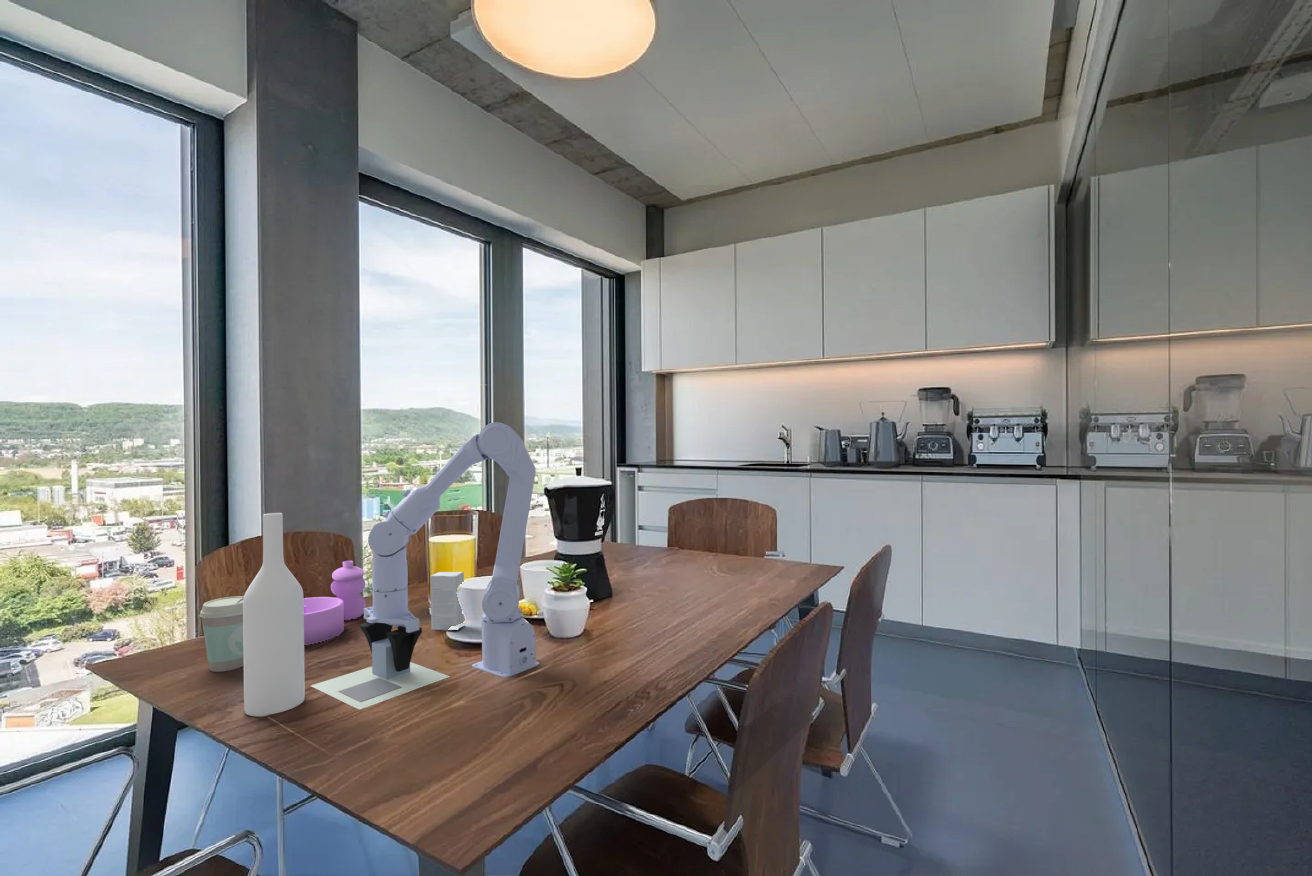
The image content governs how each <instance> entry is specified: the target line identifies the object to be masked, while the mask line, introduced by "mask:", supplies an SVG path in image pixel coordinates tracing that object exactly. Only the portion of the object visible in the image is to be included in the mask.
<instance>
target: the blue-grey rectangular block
mask: <svg viewBox="0 0 1312 876" xmlns="http://www.w3.org/2000/svg"><path fill="white" fill-rule="evenodd" d="M371 666H372V674H373V675H376V676H378V677H381V678H383V679H386V680H387V679H390V678H393V677H396V676H399V675H402V674H405V673H408V672H410V665H409V669H406V670H403V671H400V672H397V671H396V670H395V666H394V657H393V651H392V647H391V644H390V641H389V639H388V638H387V639H383V640H380V641H376V642H373V643H372V654H371Z"/></svg>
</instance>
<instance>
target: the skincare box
mask: <svg viewBox="0 0 1312 876" xmlns="http://www.w3.org/2000/svg"><path fill="white" fill-rule="evenodd" d="M464 574H465V573H464V571H458V572H457V571H439V572H438V571H437V572H436V573H434V574H432V575H430V578H429V579H430V581H429V582H430V613H431V614H430V616H431V617H430V621H431V623H430V625H431V626H430V627H431V630H432V631H435V630H436V631H444V632H448V631H447V630H448V629H449V628H450V627H451V626H456V625H458V624H461V623H463V622H464V621H465V620H466V619H464V616H463V614H462V609H461V606H460V604H459V601H458V597H457V594H456V592H457V588H458V586H459V585H460V584H462V582H464V583H465V580H464V579H465V575H464ZM465 622H466V621H465Z"/></svg>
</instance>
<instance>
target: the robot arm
mask: <svg viewBox="0 0 1312 876" xmlns="http://www.w3.org/2000/svg"><path fill="white" fill-rule="evenodd" d="M488 458H489V459H490V460H492V461H494V462H495V463H497V464H498V465H499V467H500V468H501V469H502V470H503V471H504V472H505V474H506V475H507V477H508V478H509V479H508V485H507V490H506V491H507V492H506V497H505V504H504V508H503V509H504V510H503V513H502V514H503V515H502V521H501V526H500V532H499V539H498V544H497V549H496V556H495V561H494V566H493V572H492V576H491V580H490V581H489V582H488V584H487V587H486V590H485V594H483V596H482V600H481V608H482V611H483V613H482V615H481V654H482V655H481V656H482V657H481V658H482V660H481V661H478V662H475V663H473V664H472V665H471V668H474V669H477V670H479V671H482V672H483V671H484V672H485V673H489V674H492V675H494V676H497V677H501V678H503V679H506V678H509V677H511V676H514V675H517V674H519V673H522V672H524V671H528V670H529V669H532V668H534V667H538V666H540V662H539V661H536V660H537V659H536V655H537V654H536V652H537V651H536V630H535V628H534V626H533V625H532V624H531V623H529V622H528V621H526V619H525V618H524V616H523V614H524V612H523V610H522V609H521V608H520V607H519V606H520V598H521V597H520V596H521V586H520V582H519V573H520V566H521V562H522V561H521V560H522V556H523V555H522V554H523V549H524V542H525V537H526V531H527V525H528V519H529V513H530V507H531V501H532V495H533V490H534V484H535V478H536V474H537V473H536V472H537V470H536V467H535V464H534V461H533V459H532V458H531V455H530V454H529V451H528V449H527V448H526V445H525V443H524V440H523V439H522V437H521V435H519V434H518V432H516V431H515V430H514V429H513V428H512V427H511V426H509V425H508V424H505V423H503V422H491V423H488V424H486V425H485V426H484V427H483V428H481V430H480V432H479V434H478V433H476V434H475V435H473V436H472V437H470V439H468V440H467V441H466V442H464V444H462V445H461V446H460V447H459V448H458V449H457V451H456V452H455V453H454V454H453V455H452V456H451V457H450V459H449V460H448V461H447V462H446V463H445V464H444V465H443V466H442V467H441V468H440V469H439V470H438V472H437V473H436V474H435V475H434V476H433V477H432V479H431V480H430V481H429V482H428V483H427V484H426V485H417V486H413V488H412V489H410V488H408V489H405V491H404V492H403V493H402V496H403V498H402V499H401V500H400V501H399V503H398V504H396V505H395V507H393V509H392V510H391V511H390V510H387V511H386V512H385V513H384V514H383V517H384V518H385V520H384V521H379V522H377V523H376V524H374V525H373V528H372V529H371V530H370V532H369V534H368V539H367V543H368V546H369V548H370V549H371V550H372V564H371V570H372V571H371V575H372V576H371V577H372V579H371V582H372V584H371V587H372V606H368V607H367V606H366V608H364V612H363V619H364V620H366V622H365V623H362V624H360V625H359V629H360V630H361V632H362V633H363V634H364V637H365V638H366V640H367V643H368V646H369V649H370V653H371V655H372V643H373V642H376V641H380V640H383V639H387V638H388V639H389V641H390V644H391V647H392V651H393V657H394V666H395V670H396V671H397V672H400V671H403V670H406V669H409V665H410V662H411V660H412V657H413V652H414V649H415V647H416V644H417V642H418V640H419V638H420V636H421V635H422V633H423V628H422V627H421V626H420V618H418V617H417V616H416V617H415V615H414V614H412V612H411V611H410V610H409V595H408V594H409V592H408V591H409V585H408V581H409V580H408V578H409V577H408V559H407V545H408V543H409V542H410V540H411V537H412V535H415V534H416V533H418V531H419V530H420V529H422V527H423V526H424V525H425V524H426V523H427V522H428V521H429V519H431V517H432V516H434V514H435V513H437V511H438V510H439V509H440V506H441V503H440V498H441V496H442V495H443V494H444V493H445V492H446V491H448V489H449V488H450V487H452V485H453V484H454V483H455V482H456V481H458V479H459V478H460V477H461V476H462V475H463V474H464V473H465V472H466V471H467V470H468V469H469V468H470V467H472V466H473V465H476V464H479V463H481V462H483V461H486V460H488ZM393 627H396V628H397V629H395V630H392V629H393Z"/></svg>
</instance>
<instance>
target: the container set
mask: <svg viewBox="0 0 1312 876" xmlns="http://www.w3.org/2000/svg"><path fill="white" fill-rule="evenodd" d="M364 574H365V572H364V569H363V568H361V567H359V566H354V561H353V560H345V561H342V567H339V568H337V569H335V570H334V571H333V572H332V574H331V577H332V579H333V581H332V582H331V584H330V590H331V592H332V594H333V595H335V596H336V597H332V596H318V597H317V596H315V597H305V598H304V597H303V598H304V645H306V646H310V644H312V645H315V644H314V643H316V644H319V643H318V642H320V643H323V642H322V641H324V642H326V641H325V640H327V641H329V640H328V639H330V640H332V639H331V638H333V637H335V636H337V637H339V636H340V634H341V633H342V632H343V633H344V631H345V629H344V628H345V621H352V620H351V619H353V620H355V619H359V618H360V617H362V615H364V608H367V602H366V600H365V599H366V598H364V597H363V595H362V594H361V593H362V592H363V591H364V589H365V587H366V581H365V579H364V578H362V577H363V576H364ZM358 617H359V618H358ZM344 620H345V621H344ZM343 633H342V634H343ZM342 634H341V635H342ZM335 638H336V637H335ZM333 639H334V638H333Z"/></svg>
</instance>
